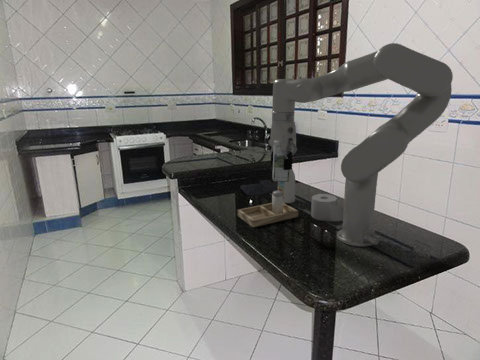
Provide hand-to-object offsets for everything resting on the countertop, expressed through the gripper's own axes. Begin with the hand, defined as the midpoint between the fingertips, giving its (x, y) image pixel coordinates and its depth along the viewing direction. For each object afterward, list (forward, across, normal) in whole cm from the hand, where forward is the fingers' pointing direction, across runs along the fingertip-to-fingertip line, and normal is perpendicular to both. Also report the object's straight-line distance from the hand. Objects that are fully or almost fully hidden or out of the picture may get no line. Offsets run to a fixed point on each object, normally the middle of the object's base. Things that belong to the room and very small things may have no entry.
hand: (281, 166), depth 116 cm
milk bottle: (+23, +19, -16) cm, 34 cm away
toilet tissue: (+22, -5, -19) cm, 30 cm away
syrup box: (+5, 0, 0) cm, 5 cm away
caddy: (+23, +7, +1) cm, 24 cm away
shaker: (+22, +7, -4) cm, 23 cm away
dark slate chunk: (+24, +41, -17) cm, 50 cm away
